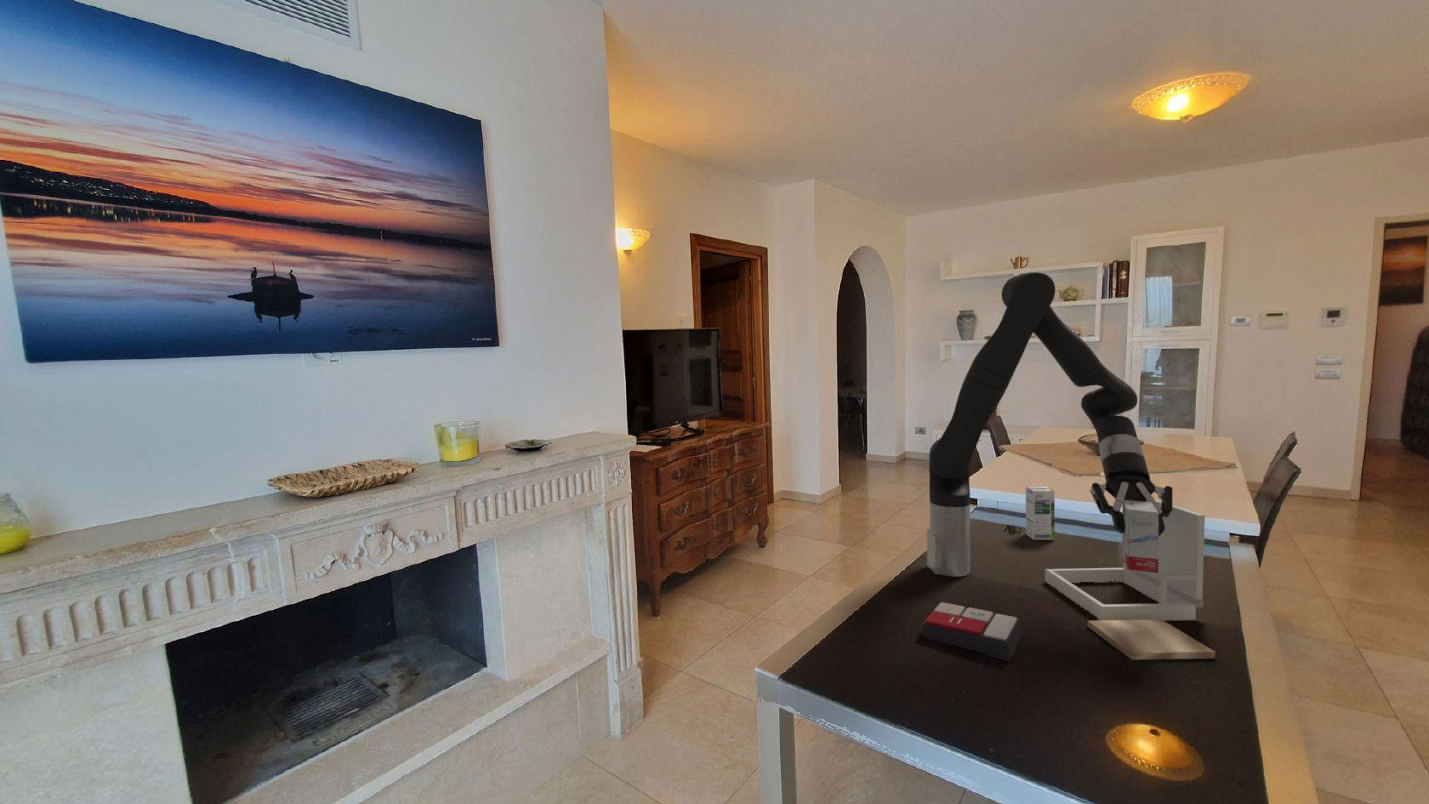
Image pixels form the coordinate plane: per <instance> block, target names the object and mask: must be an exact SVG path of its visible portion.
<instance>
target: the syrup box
mask: <svg viewBox="0 0 1429 804" xmlns="http://www.w3.org/2000/svg"><path fill="white" fill-rule="evenodd" d="M1055 494H1056V493H1055V490H1054V489H1052V488H1050V487H1048V486H1026V487H1025V534H1026V535H1027V536H1028V537H1029V538H1031V540H1034V541H1037V540H1038V541H1039V540H1040V541H1041V540H1042V541H1055V536H1056V534H1055V533H1056V532H1055V530H1056V529H1055V520H1056V519H1055V515H1056V514H1055V511H1056V510H1055V503H1056V502H1055V501H1056V500H1055V498H1056V497H1055Z"/></svg>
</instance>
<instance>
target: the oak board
mask: <svg viewBox="0 0 1429 804" xmlns="http://www.w3.org/2000/svg"><path fill="white" fill-rule="evenodd" d="M1087 627H1088V628H1089V629H1090V630H1092V631H1093V632H1094V633H1095V634H1097V636H1099V637H1101V638H1102V639H1104V640H1105V641H1106V642H1107V643H1109V644H1110V645H1111V646H1113V647H1114V648H1116V649H1117V650H1118V651H1119V652H1121V653H1123V654H1124V655H1125V656H1126V657H1128V658H1129V659H1131V661H1132V660H1133V661H1134V660H1137V661H1139V660H1192V659H1193V660H1195V659H1197V660H1199V659H1202V660H1203V659H1204V660H1205V659H1206V660H1207V659H1208V660H1209V659H1216V651H1215V650H1213V649H1211V648H1209V647H1208V646H1206V645H1204V644H1203V643H1201V642H1200V641H1198V640H1196V639H1194V638H1193V637H1191V636H1190V635H1188V634H1187V633H1185V632H1183V631H1182V630H1180V629H1178V628H1176V627H1175V626H1174V625H1172V624H1170V623H1168V622H1167V621H1163V620H1099V619H1097V620H1087Z"/></svg>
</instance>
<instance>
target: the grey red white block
mask: <svg viewBox="0 0 1429 804" xmlns="http://www.w3.org/2000/svg"><path fill="white" fill-rule="evenodd" d="M921 625H922V637H923V638H925V639H929V640H932V641H936V642H938V643H943V644H947V645H950V646H953V647H957V648H963V649H966V650H970V651H974V652H978V653H981V654H982V655H985V656H989V657H992V658H995V659H1000V660H1003V661H1006V662H1010V661H1011V659H1012V657H1013V655H1014V653H1015V650H1016V649H1017V648H1018V647H1017V646H1019V643H1020V641H1021V638H1022V627H1021V626H1022V625H1021V619H1020V618H1018V617H1016V616H1011V615H1005V614H1002V613H1001V614H1000V613H994V612H993V611H989V610H984V609H979V608H974V607H967V608H966V607H965V606H963V605H958V604H953V603H946V602H940V603H939V604H937V606H936V607H935V608H934V610H933V611H931V613H930V614H929V615H928V616H927V618H925V619H924V620H923V622H922V624H921Z"/></svg>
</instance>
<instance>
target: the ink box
mask: <svg viewBox="0 0 1429 804" xmlns="http://www.w3.org/2000/svg"><path fill="white" fill-rule="evenodd" d="M1122 514H1123V519H1124V523H1125V531H1124V533H1121V534H1122V535H1121V536H1122V537H1121V538H1122V539H1121V540H1122V541H1121V542H1122V545H1121V547H1122V548H1121V549H1122V550H1121V551H1122V554H1121V555H1122V558H1123V561H1125V563H1126V566H1127V568H1128V569H1129V570H1137V571H1145V572H1153V573H1158V523H1159V513H1158V512H1157V510H1156V508H1155V507H1154V505H1153V504H1152V503H1151V502H1141V501H1132V500H1123V503H1122Z"/></svg>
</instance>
